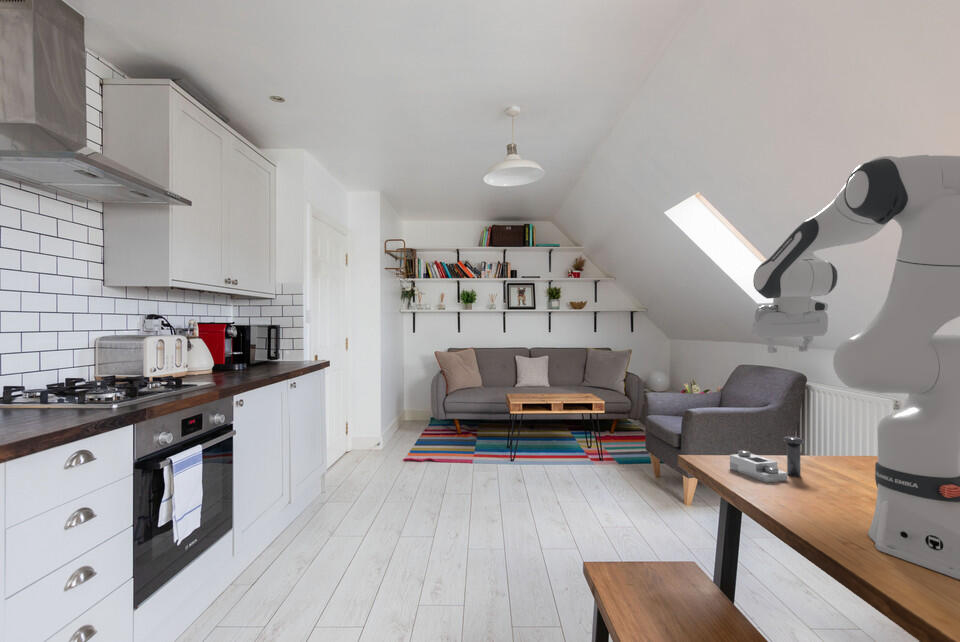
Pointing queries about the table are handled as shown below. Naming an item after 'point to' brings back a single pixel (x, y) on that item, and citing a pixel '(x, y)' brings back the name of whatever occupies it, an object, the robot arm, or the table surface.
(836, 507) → the table surface
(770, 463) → the slotted ball-knob block
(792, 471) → the pin
